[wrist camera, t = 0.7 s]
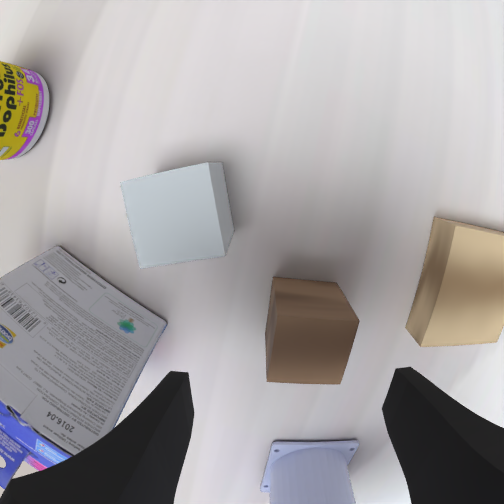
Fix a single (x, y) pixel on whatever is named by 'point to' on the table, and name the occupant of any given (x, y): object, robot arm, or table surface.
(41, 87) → the supplement bottle
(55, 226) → the table surface
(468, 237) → the oak slab
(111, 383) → the ink cartridge box
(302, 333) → the walnut block
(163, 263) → the grey block
